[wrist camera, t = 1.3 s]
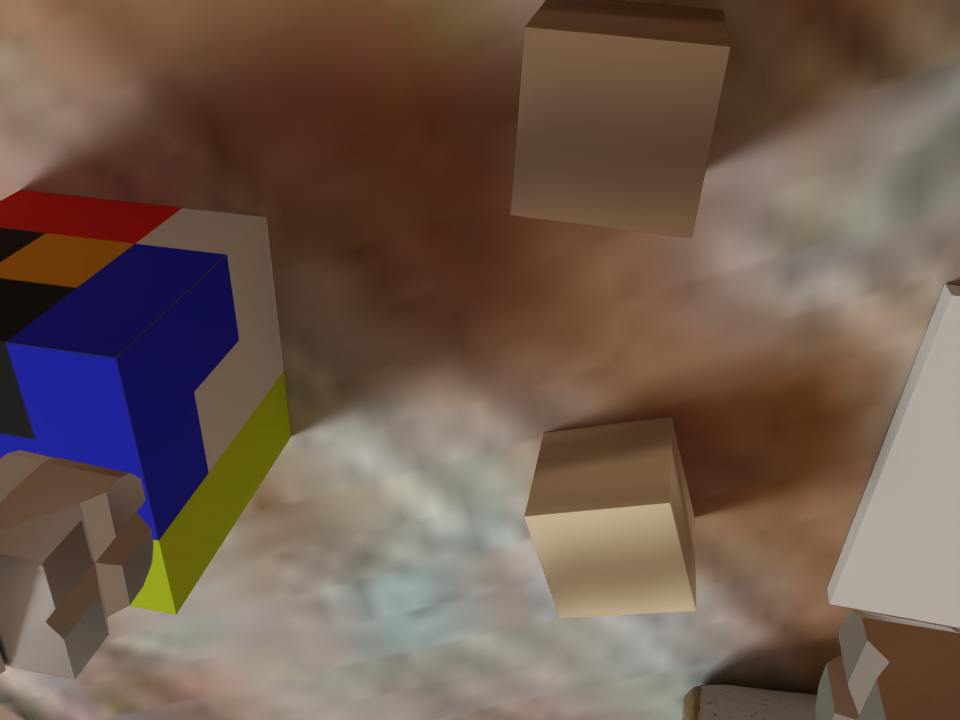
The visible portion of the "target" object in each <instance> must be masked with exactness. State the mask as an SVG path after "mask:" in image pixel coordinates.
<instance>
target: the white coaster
mask: <svg viewBox="0 0 960 720" xmlns="http://www.w3.org/2000/svg"><path fill="white" fill-rule="evenodd" d="M827 591H828V597H829V602H830V604H833V605H839V606H844V607H850V608H855V609H861V610H866V611H871V612H877V613H882V614H888V615H893V616H899V617H904V618H910V619H915V620H920V621H926V622H931V623H937V624H942V625H948V626H953V627H959V628H960V286H958V285H950V284H945V285H944V288H943V290H942V293H941V296H940V298H939V301H938V303H937V306H936V309H935V311H934V314H933V316H932V319H931V321H930V324H929V327H928V329H927V332H926V334H925V337H924V340H923V342H922V345H921V347H920V350H919V353H918V355H917V358H916V360H915V363H914V365H913V368H912V371H911V373H910V376H909V378H908V381H907V384H906V386H905V389H904V391H903V394H902V397H901V399H900V402H899V404H898V407H897V409H896V412H895V415H894V417H893V420H892V422H891V425H890V428H889V430H888V433H887V435H886V438H885V441H884V443H883V446H882V448H881V451H880V453H879V456H878V459H877V461H876V464H875V466H874V469H873V472H872V474H871V477H870V479H869V482H868V484H867V487H866V490H865V492H864V495H863V497H862V500H861V503H860V505H859V508H858V510H857V513H856V516H855V518H854V521H853V523H852V526H851V528H850V531H849V534H848V536H847V539H846V541H845V544H844V547H843V549H842V552H841V554H840V557H839V560H838V562H837V565H836V567H835V570H834V572H833V575H832V578H831V580H830V583H829V585H828V588H827Z"/></svg>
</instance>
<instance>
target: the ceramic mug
mask: <svg viewBox="0 0 960 720" xmlns="http://www.w3.org/2000/svg"><path fill="white" fill-rule="evenodd" d="M816 700H817V695H813V694H805V693H795V692H785V691H774V690H766V689H758V688H750V687H743V686H735V685H703V686H696V687H694V688H693V689H692V690H690V691H689V692H688V693H687V694H686V695H685V696H684V701H683V716H682V720H815V707H816Z"/></svg>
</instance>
